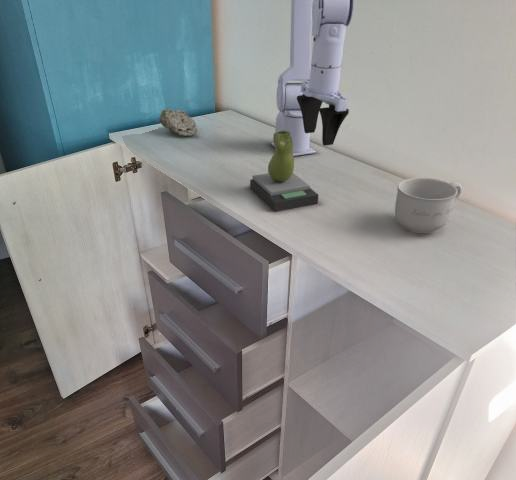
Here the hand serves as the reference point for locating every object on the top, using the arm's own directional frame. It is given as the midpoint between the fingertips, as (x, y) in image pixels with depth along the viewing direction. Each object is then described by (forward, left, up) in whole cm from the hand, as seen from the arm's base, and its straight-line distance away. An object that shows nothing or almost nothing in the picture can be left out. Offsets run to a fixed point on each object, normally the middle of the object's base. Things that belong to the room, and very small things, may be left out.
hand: (318, 138), depth 104 cm
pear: (0, -9, -8) cm, 12 cm away
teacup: (+24, +11, -11) cm, 28 cm away
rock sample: (-43, -16, -11) cm, 47 cm away
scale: (+2, -9, -10) cm, 14 cm away
